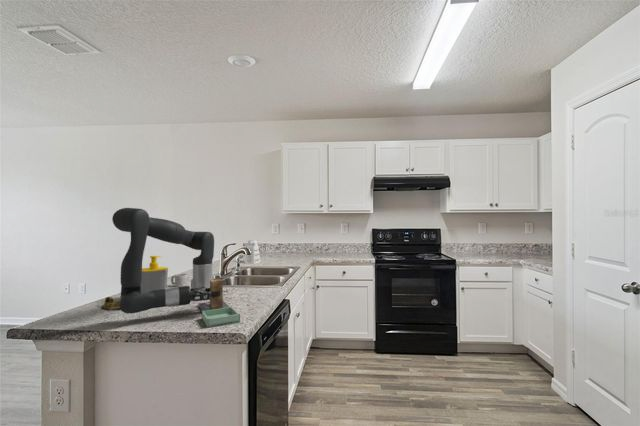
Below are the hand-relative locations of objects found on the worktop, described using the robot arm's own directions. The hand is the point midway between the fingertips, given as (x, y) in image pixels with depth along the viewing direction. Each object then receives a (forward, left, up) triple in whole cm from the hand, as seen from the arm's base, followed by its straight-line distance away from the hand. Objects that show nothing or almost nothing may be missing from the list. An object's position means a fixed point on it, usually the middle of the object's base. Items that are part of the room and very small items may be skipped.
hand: (217, 291), depth 138 cm
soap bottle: (-43, +10, -8) cm, 45 cm away
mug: (-51, +38, -8) cm, 65 cm away
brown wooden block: (0, -1, -7) cm, 7 cm away
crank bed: (-3, +2, -8) cm, 9 cm away
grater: (-54, +138, -8) cm, 149 cm away
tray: (+9, -12, -8) cm, 17 cm away
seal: (-48, -7, -9) cm, 49 cm away
